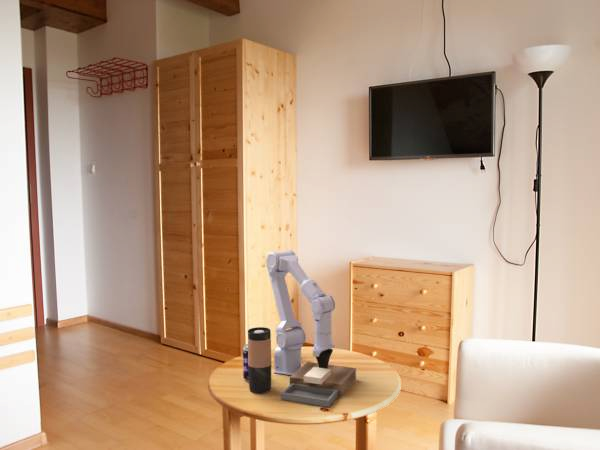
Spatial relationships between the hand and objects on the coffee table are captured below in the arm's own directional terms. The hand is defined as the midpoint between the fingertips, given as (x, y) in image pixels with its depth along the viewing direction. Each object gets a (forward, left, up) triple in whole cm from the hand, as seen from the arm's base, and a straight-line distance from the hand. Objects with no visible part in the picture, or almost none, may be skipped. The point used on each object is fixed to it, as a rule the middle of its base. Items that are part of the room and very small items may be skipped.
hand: (323, 370), depth 173 cm
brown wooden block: (0, 0, -5) cm, 5 cm away
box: (0, -13, -5) cm, 13 cm away
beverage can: (-25, -5, -5) cm, 26 cm away
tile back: (0, -3, -1) cm, 3 cm away
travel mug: (-18, -12, -5) cm, 22 cm away
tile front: (0, -8, -1) cm, 8 cm away
